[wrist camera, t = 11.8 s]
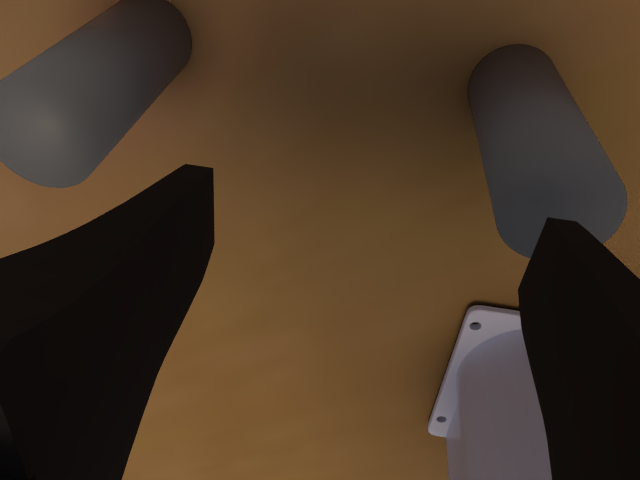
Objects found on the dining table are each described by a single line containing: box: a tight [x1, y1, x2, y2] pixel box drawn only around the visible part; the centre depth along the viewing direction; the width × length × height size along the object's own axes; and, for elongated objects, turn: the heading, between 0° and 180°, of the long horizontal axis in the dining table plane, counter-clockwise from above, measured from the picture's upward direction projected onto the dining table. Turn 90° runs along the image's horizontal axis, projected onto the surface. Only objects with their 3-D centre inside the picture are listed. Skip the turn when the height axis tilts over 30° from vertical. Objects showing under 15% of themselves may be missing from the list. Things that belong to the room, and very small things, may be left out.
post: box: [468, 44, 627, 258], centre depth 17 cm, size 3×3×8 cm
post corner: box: [0, 0, 192, 188], centre depth 18 cm, size 3×3×8 cm
